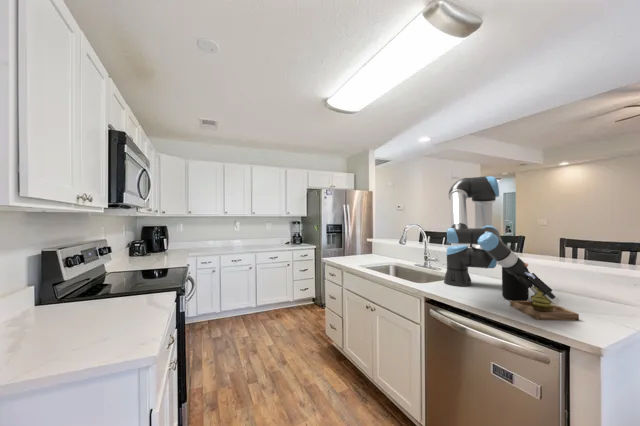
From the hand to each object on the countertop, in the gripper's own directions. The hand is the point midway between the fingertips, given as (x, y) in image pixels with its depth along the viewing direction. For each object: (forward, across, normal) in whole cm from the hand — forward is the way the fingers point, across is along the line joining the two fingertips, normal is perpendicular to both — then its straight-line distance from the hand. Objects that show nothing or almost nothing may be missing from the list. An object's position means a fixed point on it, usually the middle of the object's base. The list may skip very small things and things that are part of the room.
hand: (550, 300), depth 114 cm
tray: (+1, 0, -6) cm, 6 cm away
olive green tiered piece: (0, 0, -5) cm, 5 cm away
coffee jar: (+2, -19, -6) cm, 20 cm away
